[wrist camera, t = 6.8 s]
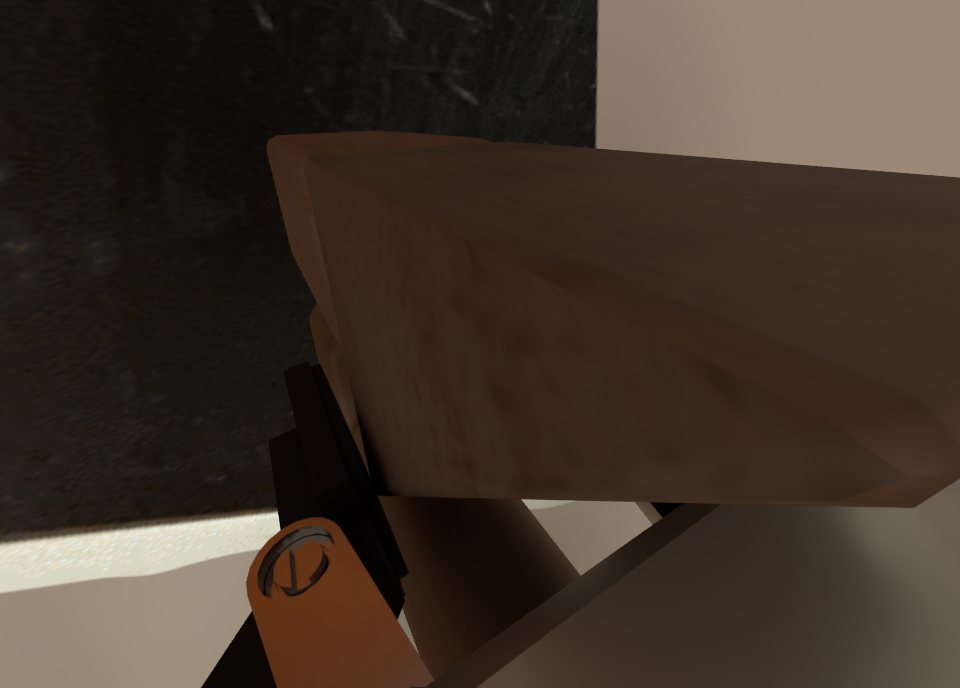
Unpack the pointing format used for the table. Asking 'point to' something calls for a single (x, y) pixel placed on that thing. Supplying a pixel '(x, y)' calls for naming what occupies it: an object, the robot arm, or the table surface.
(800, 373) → the wooden pieces
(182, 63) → the table surface
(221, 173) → the table surface
